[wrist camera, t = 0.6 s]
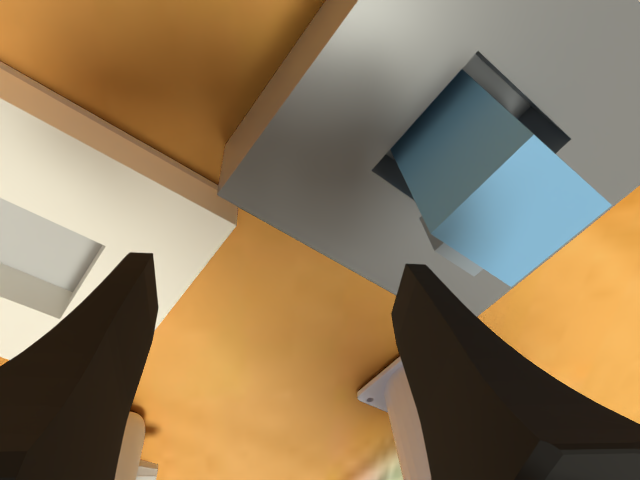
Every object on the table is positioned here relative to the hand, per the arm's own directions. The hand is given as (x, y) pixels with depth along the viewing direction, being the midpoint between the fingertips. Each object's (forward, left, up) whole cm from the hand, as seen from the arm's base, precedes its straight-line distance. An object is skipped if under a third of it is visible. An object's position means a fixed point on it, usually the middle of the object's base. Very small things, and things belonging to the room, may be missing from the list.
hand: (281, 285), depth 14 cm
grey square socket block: (-5, -5, -10) cm, 13 cm away
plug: (-5, -5, -9) cm, 12 cm away
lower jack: (+7, +11, -10) cm, 16 cm away
